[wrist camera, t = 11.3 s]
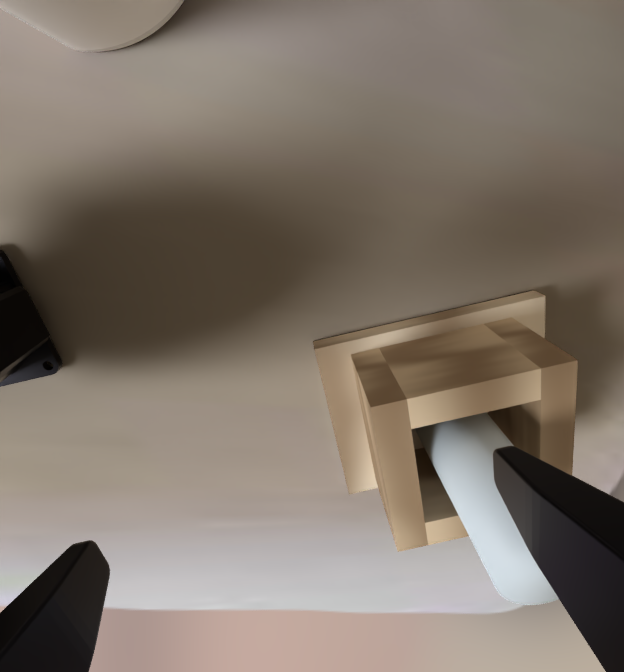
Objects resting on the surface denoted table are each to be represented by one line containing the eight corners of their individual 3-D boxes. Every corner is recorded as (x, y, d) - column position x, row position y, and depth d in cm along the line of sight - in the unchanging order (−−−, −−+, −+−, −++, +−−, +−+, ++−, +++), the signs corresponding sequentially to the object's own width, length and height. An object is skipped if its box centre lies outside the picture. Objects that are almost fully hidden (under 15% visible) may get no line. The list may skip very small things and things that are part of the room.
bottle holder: (346, 482, 25) (365, 569, 20) (312, 341, 22) (324, 401, 16) (533, 440, 25) (604, 516, 20) (534, 290, 21) (622, 333, 16)
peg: (410, 436, 23) (495, 613, 14) (403, 384, 22) (491, 544, 13) (470, 422, 23) (595, 592, 14) (466, 370, 22) (602, 520, 13)
